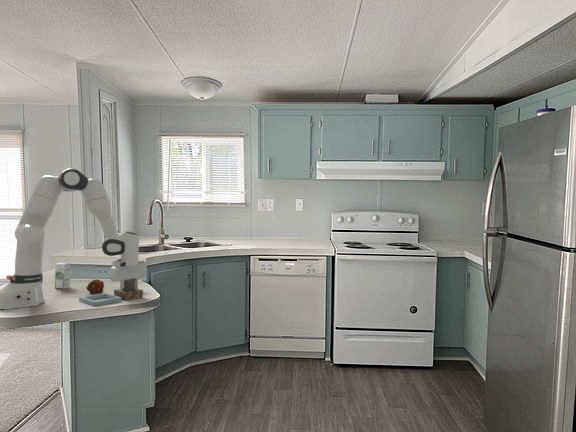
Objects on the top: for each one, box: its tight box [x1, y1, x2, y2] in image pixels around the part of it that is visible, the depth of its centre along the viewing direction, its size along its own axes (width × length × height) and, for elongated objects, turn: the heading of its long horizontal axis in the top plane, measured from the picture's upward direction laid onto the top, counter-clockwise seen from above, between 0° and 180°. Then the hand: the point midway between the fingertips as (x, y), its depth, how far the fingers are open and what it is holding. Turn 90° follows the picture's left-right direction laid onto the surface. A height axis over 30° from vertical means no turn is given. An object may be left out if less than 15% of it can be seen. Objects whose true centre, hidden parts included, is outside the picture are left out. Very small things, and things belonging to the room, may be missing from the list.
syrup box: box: [54, 261, 71, 290], centre depth 233 cm, size 6×6×14 cm
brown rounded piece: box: [85, 278, 105, 295], centre depth 223 cm, size 8×8×12 cm
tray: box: [78, 292, 122, 307], centre depth 207 cm, size 14×14×2 cm
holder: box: [113, 288, 144, 301], centre depth 218 cm, size 10×10×4 cm
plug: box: [122, 279, 135, 292], centre depth 218 cm, size 4×4×8 cm
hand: (128, 287), depth 218 cm, fingers closed on plug, 4 cm apart
